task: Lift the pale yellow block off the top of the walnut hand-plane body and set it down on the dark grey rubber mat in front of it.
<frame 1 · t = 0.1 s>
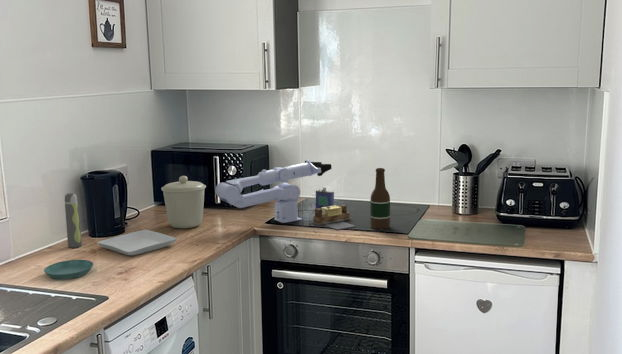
hand: (326, 165, 266), 22 cm above the worktop, tool horizontal, fingers open, 7 cm apart
beer bottle: (380, 227, 244), on the worktop
pale yellow block: (331, 214, 255), point 3 cm above the worktop, touching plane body
mat: (340, 226, 247), on the worktop
saucer: (69, 275, 194), on the worktop
flask: (324, 210, 276), on the worktop
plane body: (331, 221, 256), on the worktop
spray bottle: (75, 247, 225), on the worktop
canister: (186, 226, 253), on the worktop
salad plate: (138, 248, 223), on the worktop
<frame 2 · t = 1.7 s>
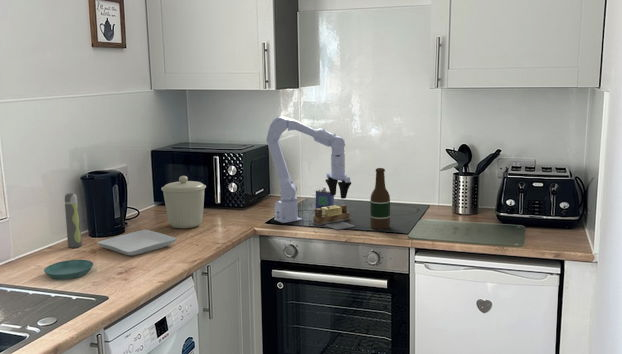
hand: (338, 196, 257), 10 cm above the worktop, tool pointing down, fingers open, 7 cm apart
nothing on the worktop moved.
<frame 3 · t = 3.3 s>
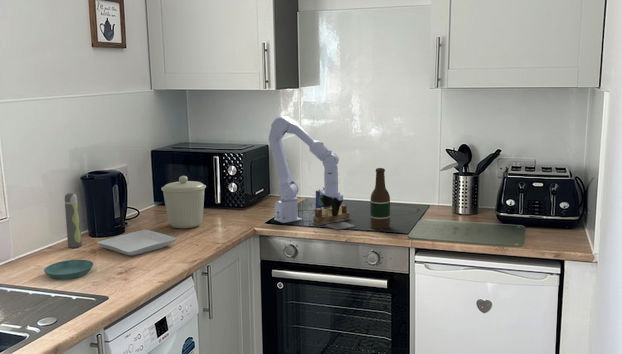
hand: (331, 214, 255), 3 cm above the worktop, tool pointing down, fingers closed on pale yellow block, 5 cm apart
pale yellow block: (331, 214, 255), point 3 cm above the worktop, touching gripper, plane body
everything else where it was.
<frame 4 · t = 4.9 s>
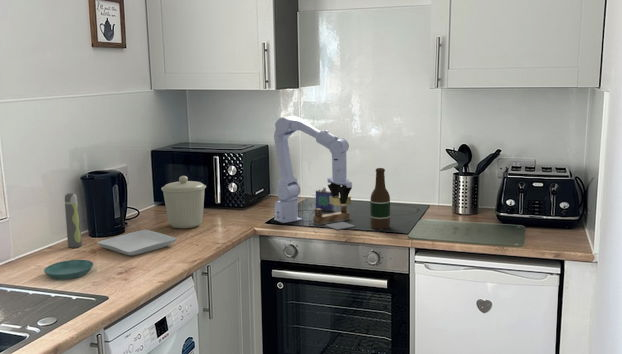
hand: (339, 202, 245), 10 cm above the worktop, tool pointing down, fingers closed on pale yellow block, 5 cm apart
pale yellow block: (340, 203, 245), point 9 cm above the worktop, touching gripper
everything else where it was.
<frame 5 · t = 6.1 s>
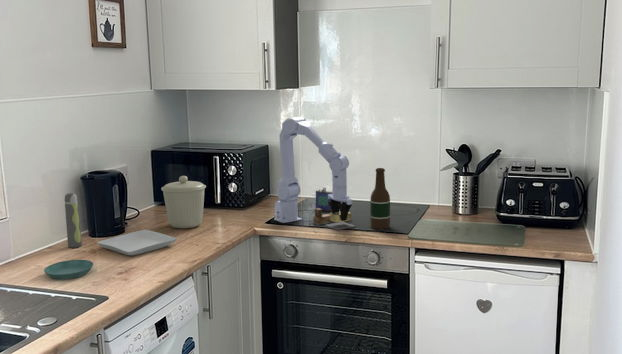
hand: (340, 219, 246), 3 cm above the worktop, tool pointing down, fingers closed on pale yellow block, 5 cm apart
pale yellow block: (340, 220, 247), point 3 cm above the worktop, touching gripper
everything else where it was.
when the fingers open (2 cm above the worktop, at t = 6.9 s): pale yellow block stays where it is, resting on mat.
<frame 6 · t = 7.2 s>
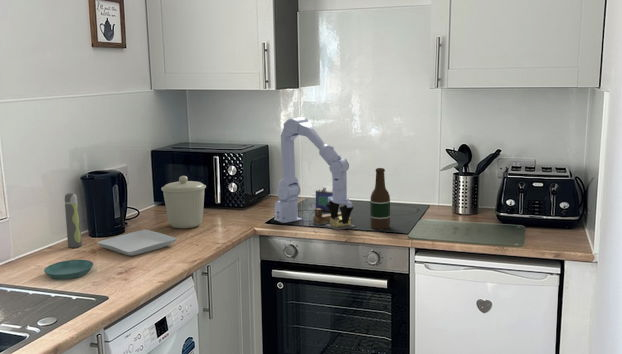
hand: (340, 221, 247), 2 cm above the worktop, tool pointing down, fingers open, 7 cm apart
pale yellow block: (340, 225, 247), resting on mat
everything else where it was.
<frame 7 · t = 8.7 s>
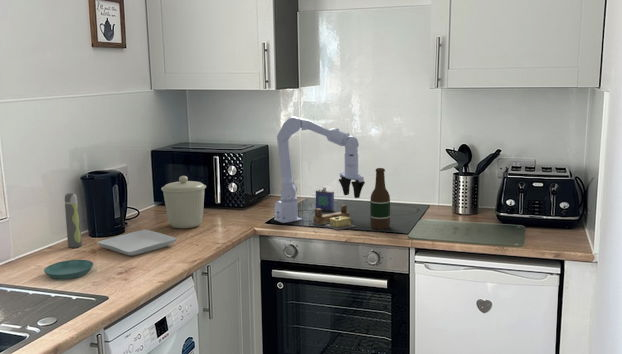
hand: (351, 196, 257), 10 cm above the worktop, tool pointing down, fingers open, 7 cm apart
nothing on the worktop moved.
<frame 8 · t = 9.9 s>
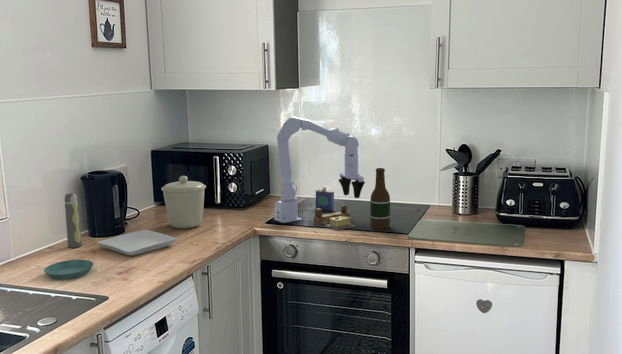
hand: (351, 196, 257), 10 cm above the worktop, tool pointing down, fingers open, 7 cm apart
nothing on the worktop moved.
at the end: pale yellow block inside the target area on the mat (0.1 cm from its centre), point 0.4 cm above the mat's base; pale yellow block touching mat; the gripper is holding nothing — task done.
